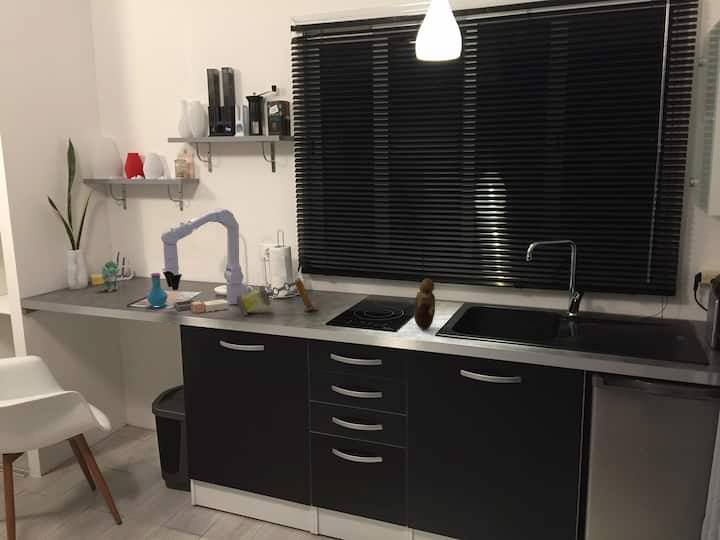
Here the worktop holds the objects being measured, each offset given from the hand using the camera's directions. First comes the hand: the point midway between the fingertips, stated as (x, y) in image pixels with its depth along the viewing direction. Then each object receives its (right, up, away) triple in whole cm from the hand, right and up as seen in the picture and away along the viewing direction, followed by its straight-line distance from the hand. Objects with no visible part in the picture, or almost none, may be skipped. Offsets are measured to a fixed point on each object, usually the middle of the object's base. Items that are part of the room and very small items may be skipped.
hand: (173, 288), depth 274 cm
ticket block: (+17, -9, +4) cm, 20 cm away
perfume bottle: (-11, -8, +12) cm, 18 cm away
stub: (+11, -10, 0) cm, 15 cm away
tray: (+4, -9, +7) cm, 12 cm away
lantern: (+46, -11, -3) cm, 47 cm away
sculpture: (+108, -15, -31) cm, 113 cm away
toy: (-45, -2, +45) cm, 64 cm away
